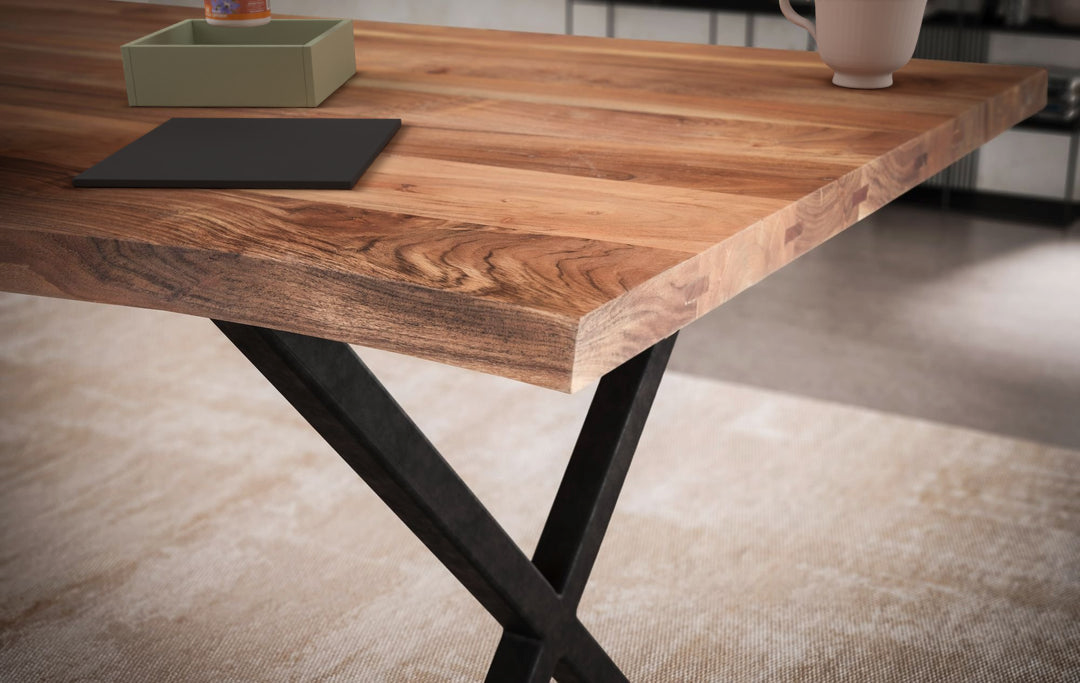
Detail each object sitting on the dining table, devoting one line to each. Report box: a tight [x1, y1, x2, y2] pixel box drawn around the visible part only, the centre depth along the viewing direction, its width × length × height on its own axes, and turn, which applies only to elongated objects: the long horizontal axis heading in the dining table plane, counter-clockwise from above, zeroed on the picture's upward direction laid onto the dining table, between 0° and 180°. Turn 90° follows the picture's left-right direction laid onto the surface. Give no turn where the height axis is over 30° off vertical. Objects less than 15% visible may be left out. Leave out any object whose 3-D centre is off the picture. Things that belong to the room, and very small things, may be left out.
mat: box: [71, 117, 403, 190], centre depth 91 cm, size 20×20×1 cm
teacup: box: [778, 0, 928, 90], centre depth 113 cm, size 12×15×10 cm
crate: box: [120, 18, 357, 108], centre depth 114 cm, size 18×18×6 cm
